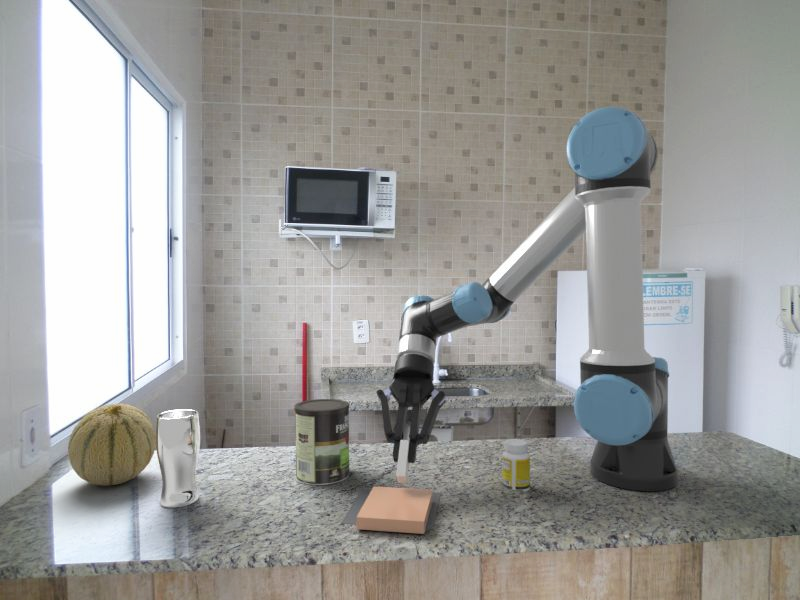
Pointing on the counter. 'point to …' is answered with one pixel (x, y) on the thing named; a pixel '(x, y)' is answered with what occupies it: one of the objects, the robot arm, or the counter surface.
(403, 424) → the robot arm
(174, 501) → the beer glass
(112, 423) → the cantaloupe
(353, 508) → the mat
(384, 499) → the tile
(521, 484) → the supplement bottle
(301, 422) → the coffee can
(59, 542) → the counter surface
